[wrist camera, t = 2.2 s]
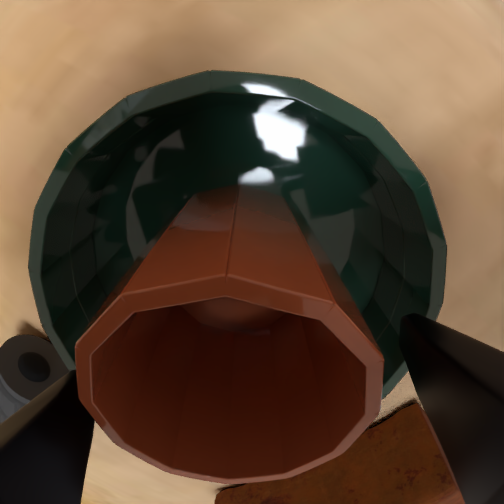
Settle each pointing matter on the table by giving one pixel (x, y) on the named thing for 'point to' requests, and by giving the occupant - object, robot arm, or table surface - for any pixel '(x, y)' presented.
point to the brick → (368, 471)
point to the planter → (242, 172)
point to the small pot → (231, 346)
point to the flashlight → (26, 371)
